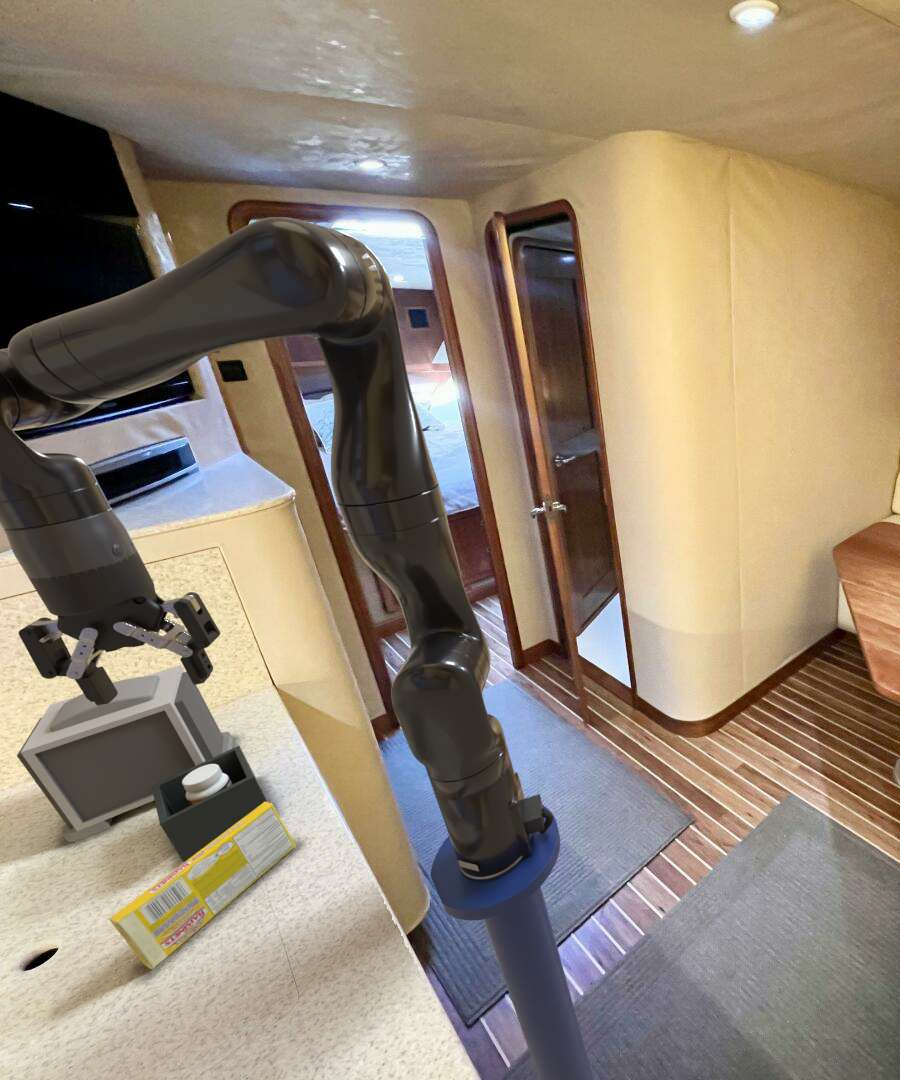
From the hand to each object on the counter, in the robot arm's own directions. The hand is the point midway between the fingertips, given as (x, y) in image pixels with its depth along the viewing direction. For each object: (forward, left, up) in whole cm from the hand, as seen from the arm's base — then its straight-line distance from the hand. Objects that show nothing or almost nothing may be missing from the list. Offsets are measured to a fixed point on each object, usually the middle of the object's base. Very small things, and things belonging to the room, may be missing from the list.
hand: (156, 690), depth 60 cm
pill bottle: (+9, -13, -30) cm, 34 cm away
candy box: (+3, +3, -30) cm, 31 cm away
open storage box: (+9, -13, -30) cm, 34 cm away
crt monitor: (+23, -26, -30) cm, 46 cm away
